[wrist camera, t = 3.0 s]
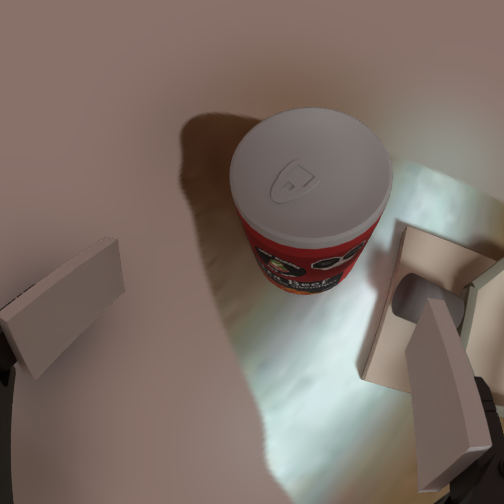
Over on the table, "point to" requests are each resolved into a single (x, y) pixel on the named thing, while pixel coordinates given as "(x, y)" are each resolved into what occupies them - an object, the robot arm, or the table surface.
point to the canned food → (309, 195)
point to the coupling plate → (457, 301)
